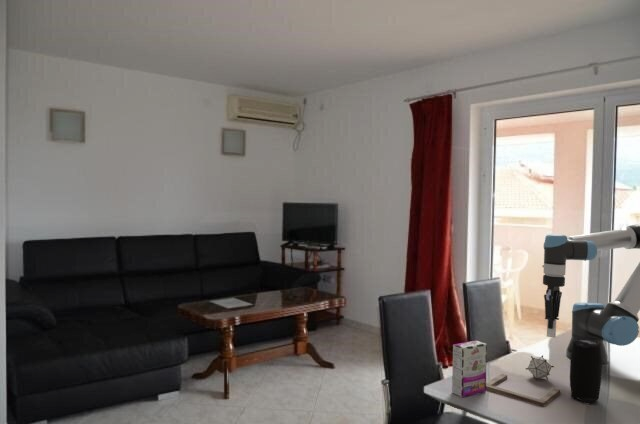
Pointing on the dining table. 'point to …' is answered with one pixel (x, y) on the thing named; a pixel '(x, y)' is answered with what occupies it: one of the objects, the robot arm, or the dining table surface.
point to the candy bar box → (469, 368)
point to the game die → (539, 367)
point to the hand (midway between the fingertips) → (551, 336)
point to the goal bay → (541, 402)
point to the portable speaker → (585, 370)
